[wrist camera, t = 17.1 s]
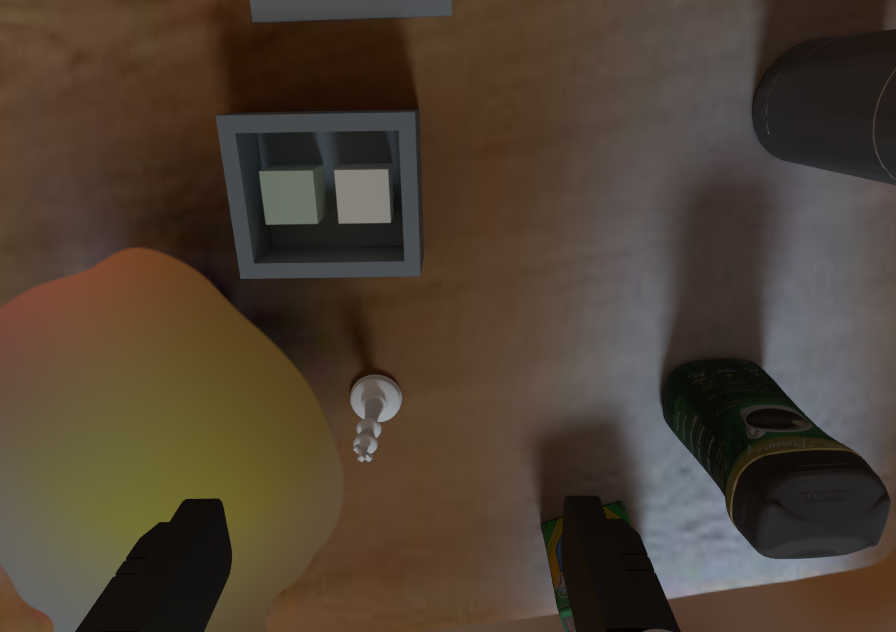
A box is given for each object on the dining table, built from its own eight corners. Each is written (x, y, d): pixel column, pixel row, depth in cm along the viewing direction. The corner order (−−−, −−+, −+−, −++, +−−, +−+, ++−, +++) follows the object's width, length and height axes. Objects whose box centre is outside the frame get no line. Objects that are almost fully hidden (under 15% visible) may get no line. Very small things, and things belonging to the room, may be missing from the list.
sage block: (323, 164, 47) (312, 170, 43) (328, 213, 48) (317, 223, 44) (274, 164, 47) (258, 171, 43) (280, 214, 48) (265, 224, 44)
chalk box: (643, 561, 63) (697, 693, 49) (562, 584, 64) (593, 719, 50) (622, 496, 60) (674, 618, 46) (537, 521, 61) (563, 647, 47)
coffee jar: (656, 430, 57) (746, 580, 40) (662, 358, 54) (762, 485, 37) (756, 425, 57) (890, 573, 39) (767, 352, 54) (917, 477, 37)
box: (419, 109, 46) (414, 112, 40) (423, 255, 50) (420, 276, 45) (243, 112, 46) (215, 115, 41) (263, 257, 51) (240, 278, 45)
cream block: (393, 162, 47) (387, 169, 43) (395, 212, 48) (390, 222, 44) (343, 163, 47) (334, 170, 43) (347, 213, 48) (338, 223, 44)
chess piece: (374, 364, 54) (359, 421, 45) (412, 397, 56) (405, 459, 46) (340, 397, 56) (318, 459, 46) (378, 428, 57) (363, 494, 48)
